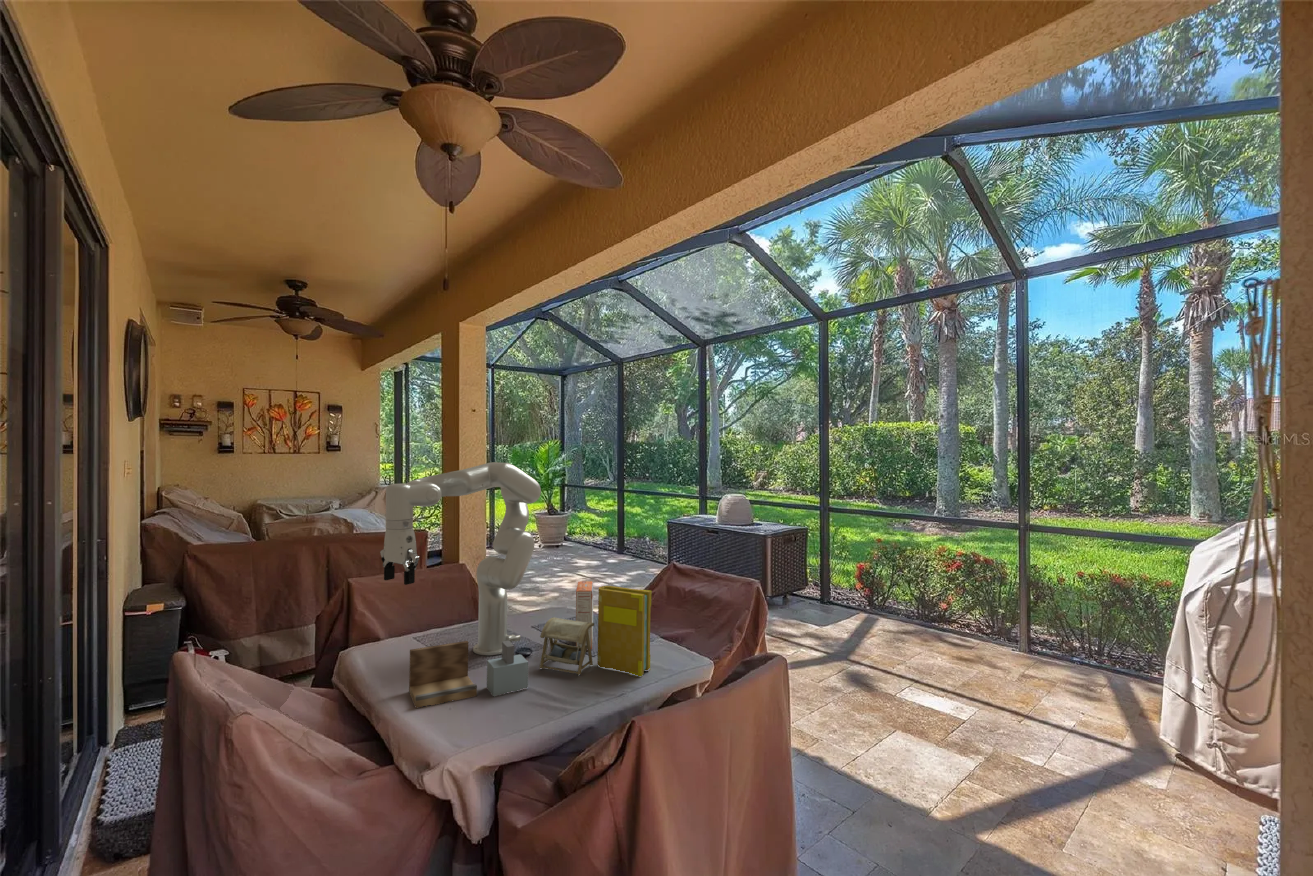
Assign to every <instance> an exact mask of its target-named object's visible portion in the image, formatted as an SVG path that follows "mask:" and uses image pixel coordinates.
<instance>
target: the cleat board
mask: <svg viewBox="0 0 1313 876" xmlns="http://www.w3.org/2000/svg"><path fill="white" fill-rule="evenodd" d="M408 671H409V675H408V676H409V677H408V678H409V679H408V680H409V681H408V683H409V684H408V685H409V686H408V693H409V692H410V693H409V695H410V697H412V698H411V699H412V702H414V703H413V704H414V707H415V706H416V707H415V709H418V708H417V707H421V708H423V707H422V706H426V707H428V706H427V705H431V706H434V705H435V704H436V705H440V703H441V704H445V703H449V702H448V701H450V702H453V701H452V700H455V701H458V700H459V701H460V700H464V699H469V698H474V697H477V696H478V694H477V693H478V685H477V683H473V681H472V680H471V678H470V677H469V641H468V640H461V641H458V642H457V641H456V642H450V643H444V644H439V645H438V644H437V645H432V646H425V647H419V648H412V649H409V669H408ZM444 702H445V703H444Z"/></svg>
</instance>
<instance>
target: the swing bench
mask: <svg viewBox="0 0 1313 876" xmlns="http://www.w3.org/2000/svg"><path fill="white" fill-rule="evenodd" d="M592 626H593V627H595V623H594V622H593V623H589V622H580V621H576V620H571V619H565V618H560V617H551V618H549V619H548V620H547V621H546V623H545V624H544V626H543V628H542V630H541V631H540V632H541V633H540V636H539V637H540V639H543V646H542V652H541V657H540V658H541V659H540V663H539V669H540V668H543V669H545V668H548V669H547V670H551V669H554V670H553V671H557V670H559V672H563V671H564V673H568V672H569V673H570V674H574V673H576V674H575V675H577V674H578V675H579V674H581V675H582V670H583V669H585V668H586V667H587V666H588V665H589V666H590V665H593V666H594V662H593V655H592V650H591V646H590V640H589V633H588V629H589V628H590V627H592ZM560 640H561V641H566V642H572V643H576V642H578V643H579V644H582V647H579V644H578V647H576V645H568V644H565V643H561V642H558V641H560ZM586 643H587V645H585V644H586ZM549 644H550V645H549ZM548 646H549V647H550V650H549V651H550V652H549V654H547V652H548ZM587 649H588V650H587ZM586 653H587V655H588V661H587V662H586V663H584V659H585V657H586ZM548 661H552V662H557V663H559V664H560V663H561V664H566V665H575V666H578V668H577V670H571V669H566V668H559V667H554V666H548V665H545V663H546V662H548ZM569 673H568V674H569Z"/></svg>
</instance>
